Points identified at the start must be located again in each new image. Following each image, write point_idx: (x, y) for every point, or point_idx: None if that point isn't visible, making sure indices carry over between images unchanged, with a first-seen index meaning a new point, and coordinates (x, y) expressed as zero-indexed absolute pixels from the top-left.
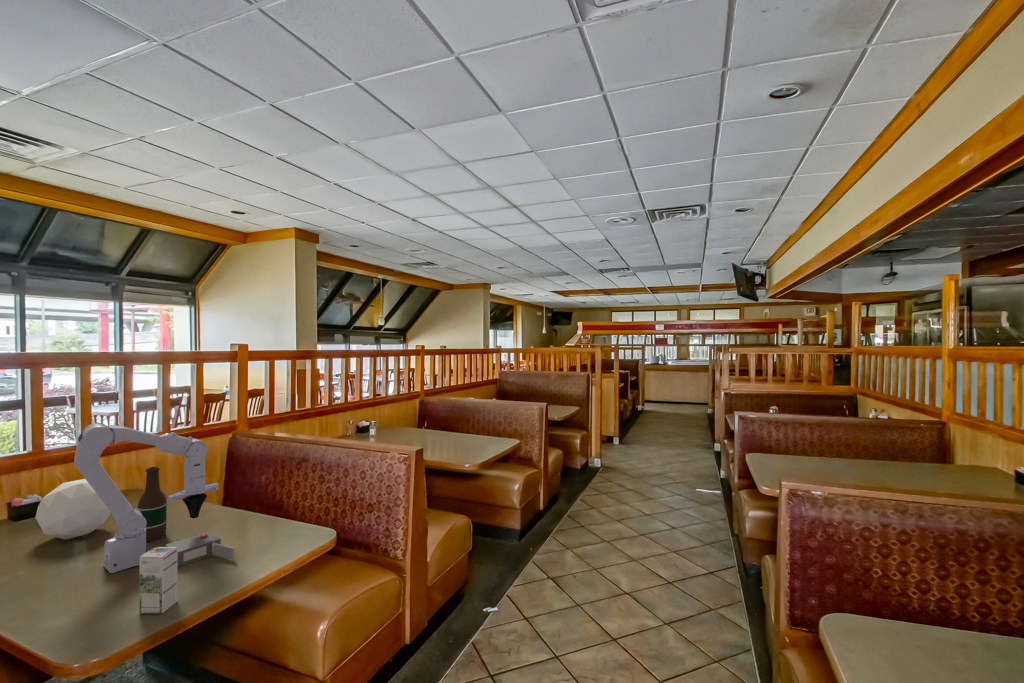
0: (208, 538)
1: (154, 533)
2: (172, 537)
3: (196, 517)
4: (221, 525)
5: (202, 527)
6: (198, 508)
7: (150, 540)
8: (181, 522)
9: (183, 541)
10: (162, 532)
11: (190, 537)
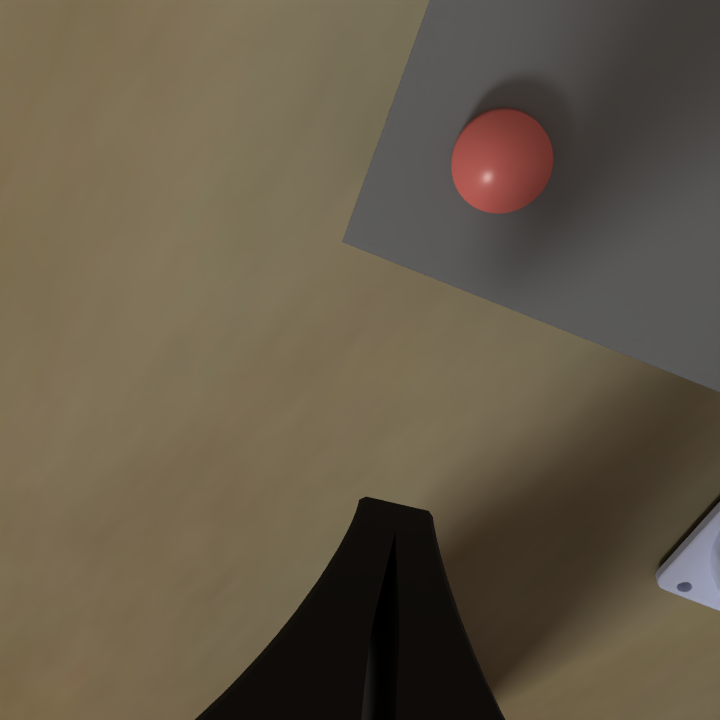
0: (545, 17)
1: None
2: None
3: (392, 504)
4: (19, 443)
5: (122, 543)
6: (361, 615)
7: None
8: (140, 703)
9: (692, 297)
10: None
11: (557, 317)
